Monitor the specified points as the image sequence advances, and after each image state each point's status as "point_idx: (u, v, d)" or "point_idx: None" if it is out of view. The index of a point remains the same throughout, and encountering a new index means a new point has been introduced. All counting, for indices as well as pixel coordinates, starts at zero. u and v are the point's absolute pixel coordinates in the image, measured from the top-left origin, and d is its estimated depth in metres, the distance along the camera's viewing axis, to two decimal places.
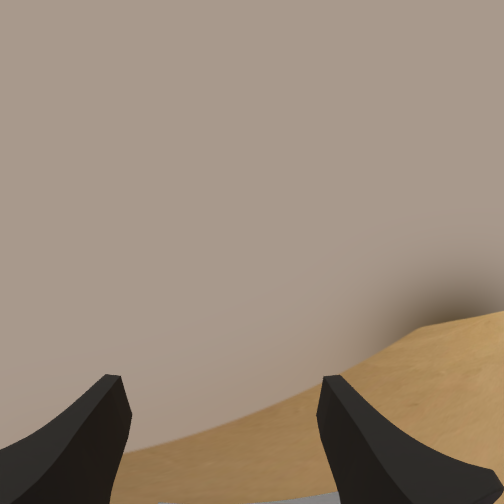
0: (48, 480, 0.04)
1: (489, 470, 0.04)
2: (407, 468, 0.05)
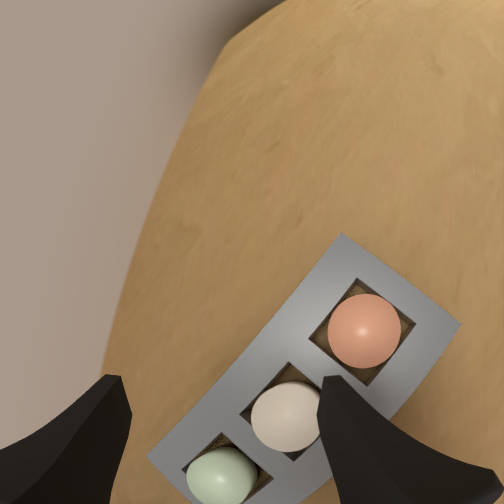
0: (48, 480, 0.04)
1: (489, 470, 0.04)
2: (407, 468, 0.05)
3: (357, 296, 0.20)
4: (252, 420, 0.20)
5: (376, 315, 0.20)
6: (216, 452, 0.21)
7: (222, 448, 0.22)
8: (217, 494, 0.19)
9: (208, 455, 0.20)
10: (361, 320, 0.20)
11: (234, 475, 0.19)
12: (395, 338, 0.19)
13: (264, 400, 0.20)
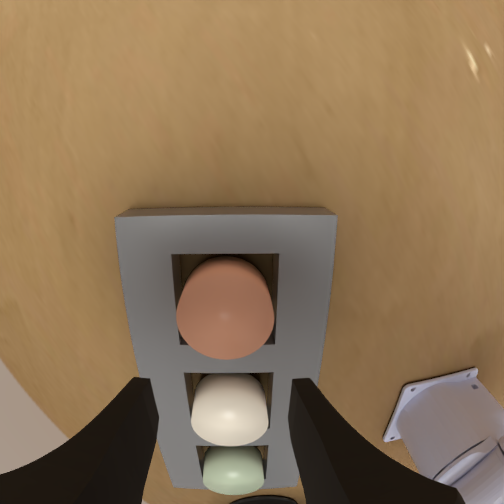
0: (89, 492, 0.04)
1: (452, 488, 0.04)
2: (362, 480, 0.05)
3: (186, 293, 0.15)
4: (206, 439, 0.19)
5: (224, 297, 0.15)
6: (209, 462, 0.21)
7: (210, 451, 0.22)
8: (243, 485, 0.21)
9: (206, 471, 0.20)
10: (211, 313, 0.16)
11: (238, 471, 0.20)
12: (265, 304, 0.16)
13: (197, 424, 0.18)
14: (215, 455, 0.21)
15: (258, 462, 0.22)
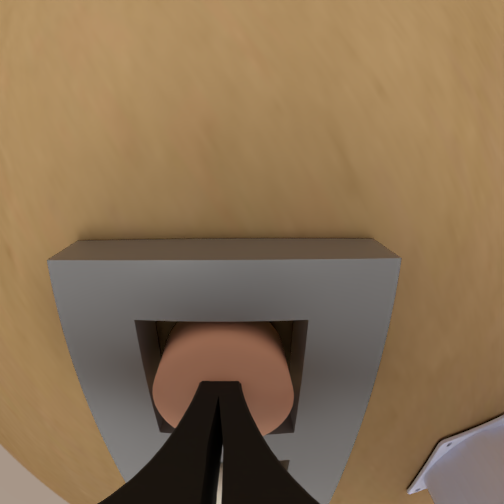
0: None
1: None
2: (245, 494, 0.05)
3: (164, 368, 0.10)
4: None
5: (221, 375, 0.10)
6: None
7: None
8: None
9: None
10: None
11: None
12: (281, 383, 0.10)
13: None
14: None
15: None
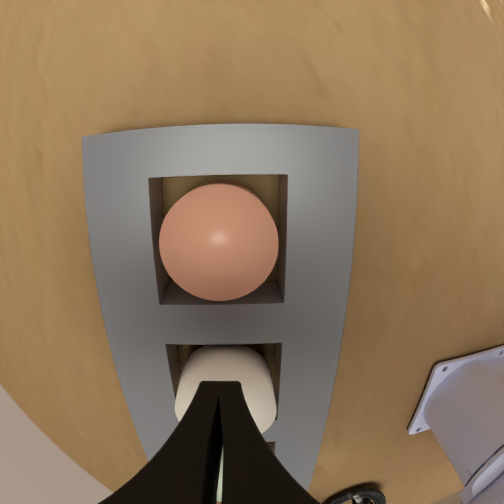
0: None
1: None
2: (245, 494, 0.05)
3: (171, 211, 0.13)
4: None
5: (217, 215, 0.13)
6: None
7: None
8: None
9: None
10: (201, 236, 0.13)
11: None
12: (267, 224, 0.13)
13: (183, 413, 0.14)
14: None
15: None
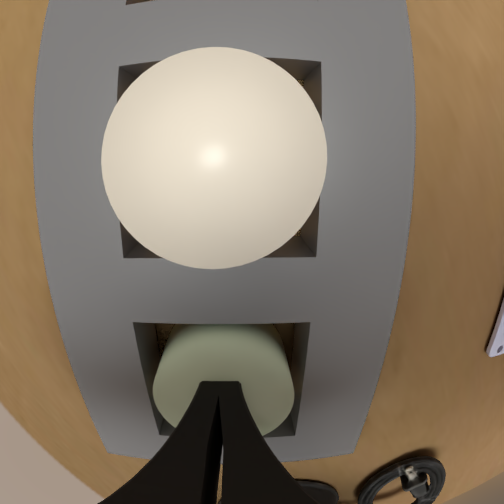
0: None
1: None
2: (245, 494, 0.05)
3: None
4: (138, 236, 0.07)
5: None
6: (169, 346, 0.11)
7: (175, 329, 0.12)
8: None
9: (160, 365, 0.10)
10: None
11: (233, 362, 0.10)
12: None
13: (118, 161, 0.06)
14: (184, 330, 0.11)
15: (280, 350, 0.11)
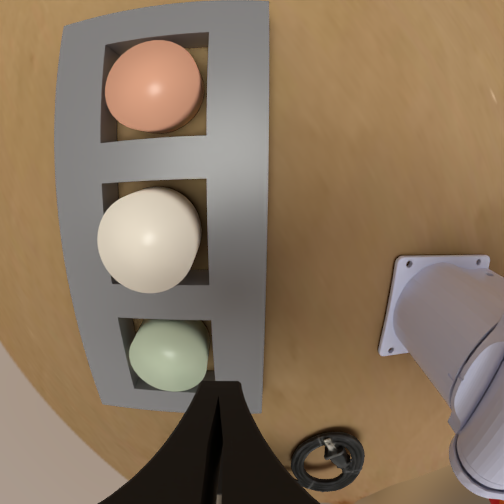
0: None
1: None
2: (245, 494, 0.05)
3: (117, 61, 0.13)
4: (116, 278, 0.15)
5: (151, 60, 0.13)
6: (138, 330, 0.19)
7: (143, 321, 0.20)
8: (180, 371, 0.19)
9: (133, 340, 0.18)
10: (137, 77, 0.13)
11: (169, 338, 0.18)
12: (189, 64, 0.13)
13: (105, 245, 0.14)
14: (147, 321, 0.19)
15: (200, 335, 0.19)
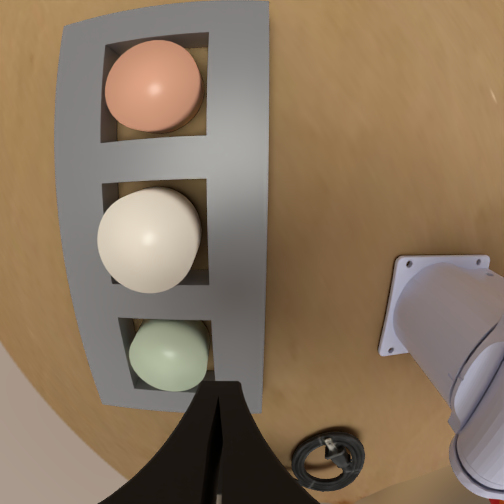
0: None
1: None
2: (245, 494, 0.05)
3: (117, 61, 0.13)
4: (116, 278, 0.15)
5: (151, 60, 0.13)
6: (138, 330, 0.19)
7: (143, 321, 0.20)
8: (180, 371, 0.19)
9: (133, 340, 0.18)
10: (137, 77, 0.13)
11: (169, 338, 0.18)
12: (189, 64, 0.13)
13: (105, 245, 0.14)
14: (147, 321, 0.19)
15: (200, 335, 0.19)
